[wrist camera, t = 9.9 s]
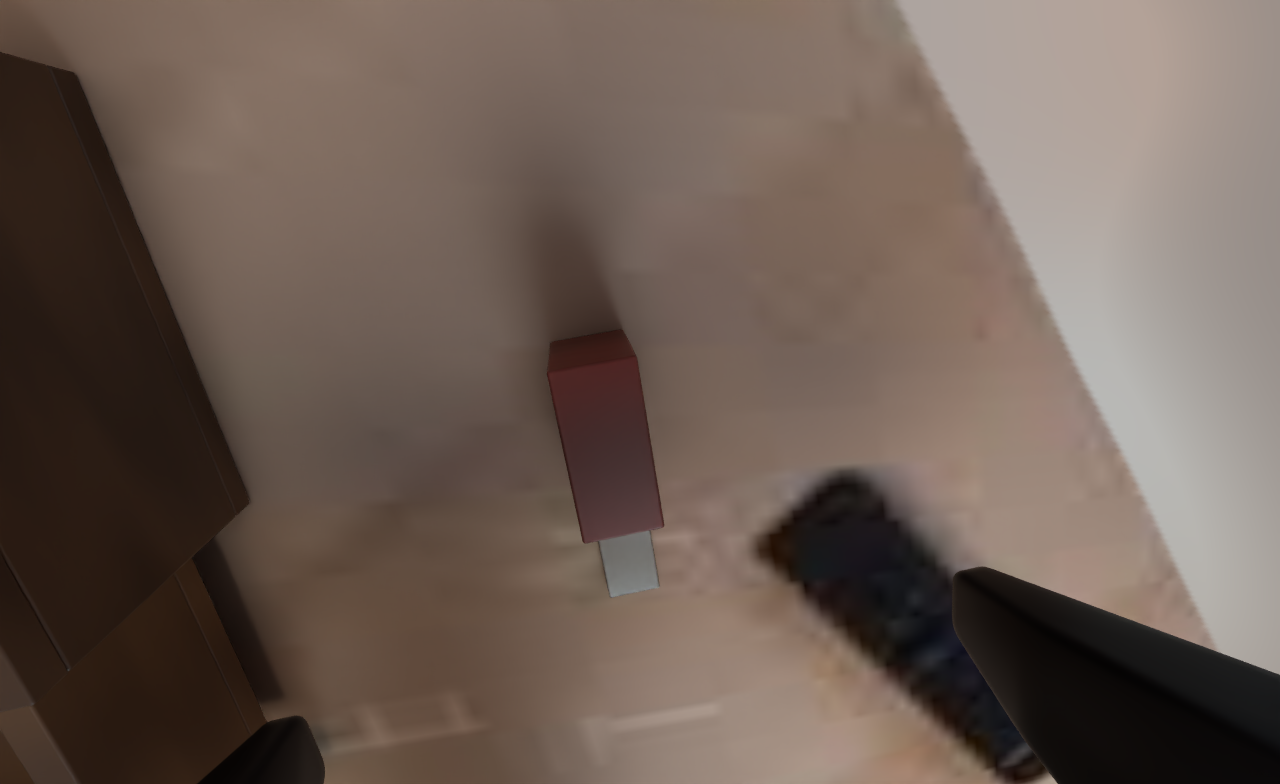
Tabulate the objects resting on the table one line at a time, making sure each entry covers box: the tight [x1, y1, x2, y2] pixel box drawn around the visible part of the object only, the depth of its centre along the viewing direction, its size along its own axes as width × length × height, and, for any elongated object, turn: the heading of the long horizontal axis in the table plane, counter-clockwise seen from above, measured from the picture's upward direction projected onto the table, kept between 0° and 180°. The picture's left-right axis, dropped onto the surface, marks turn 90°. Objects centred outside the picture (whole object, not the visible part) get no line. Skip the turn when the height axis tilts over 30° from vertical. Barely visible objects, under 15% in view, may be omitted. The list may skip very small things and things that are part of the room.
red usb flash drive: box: [547, 329, 664, 598], centre depth 17 cm, size 9×2×3 cm, turn 9°
